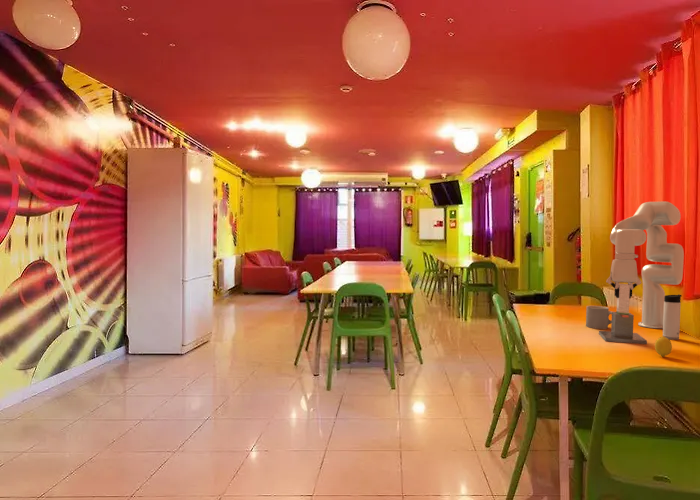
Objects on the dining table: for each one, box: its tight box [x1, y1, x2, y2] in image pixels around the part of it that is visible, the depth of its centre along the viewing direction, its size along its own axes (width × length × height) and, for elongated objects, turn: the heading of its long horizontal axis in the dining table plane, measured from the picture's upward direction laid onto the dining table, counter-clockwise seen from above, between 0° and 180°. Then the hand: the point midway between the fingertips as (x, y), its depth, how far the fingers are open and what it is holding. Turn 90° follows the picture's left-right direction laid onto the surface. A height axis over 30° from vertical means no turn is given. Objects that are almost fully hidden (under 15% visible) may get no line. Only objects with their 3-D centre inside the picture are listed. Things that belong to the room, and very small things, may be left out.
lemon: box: [654, 335, 673, 358], centre depth 190 cm, size 6×6×8 cm
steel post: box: [615, 283, 630, 315], centre depth 221 cm, size 4×4×18 cm
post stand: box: [598, 311, 648, 345], centre depth 221 cm, size 16×16×12 cm
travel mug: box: [662, 294, 683, 341], centre depth 223 cm, size 6×7×20 cm
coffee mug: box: [585, 305, 613, 330], centre depth 247 cm, size 13×10×10 cm
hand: (623, 297), depth 221 cm, fingers closed on steel post, 4 cm apart
